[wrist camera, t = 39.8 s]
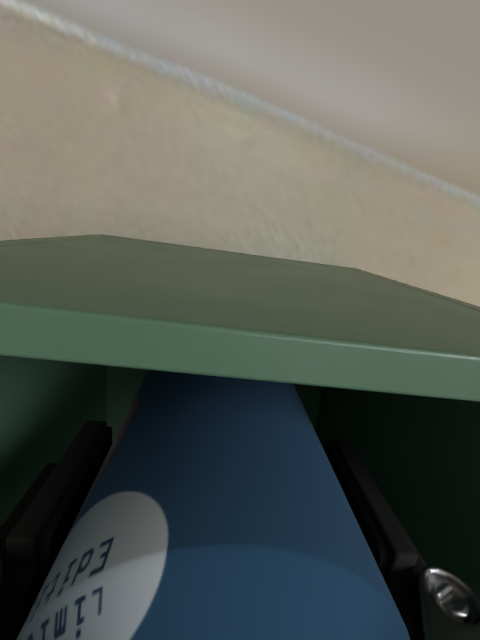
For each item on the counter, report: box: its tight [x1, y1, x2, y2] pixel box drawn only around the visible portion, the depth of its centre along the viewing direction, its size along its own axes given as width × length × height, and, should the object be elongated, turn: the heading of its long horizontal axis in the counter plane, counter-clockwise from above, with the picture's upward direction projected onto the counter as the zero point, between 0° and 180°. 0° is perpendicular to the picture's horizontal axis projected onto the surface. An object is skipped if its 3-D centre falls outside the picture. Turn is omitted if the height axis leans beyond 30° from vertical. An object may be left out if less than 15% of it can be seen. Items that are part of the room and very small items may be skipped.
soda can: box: [16, 370, 410, 640], centre depth 9 cm, size 7×7×12 cm
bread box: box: [0, 235, 480, 597], centre depth 14 cm, size 15×16×15 cm
